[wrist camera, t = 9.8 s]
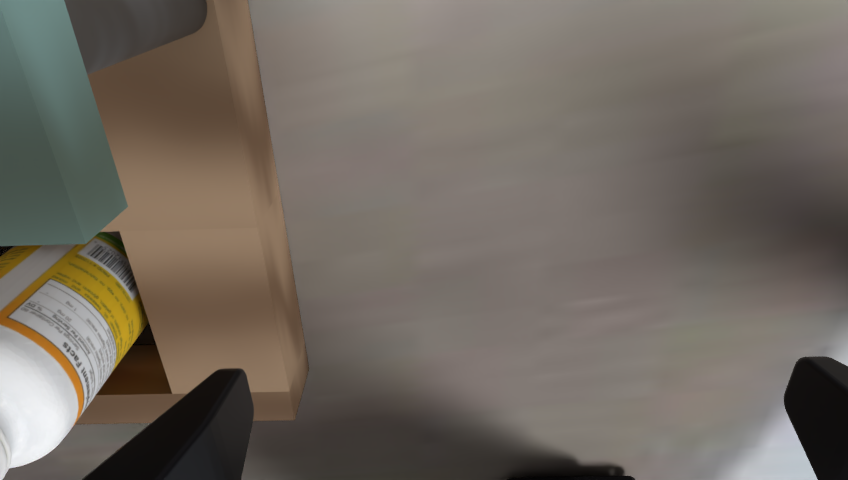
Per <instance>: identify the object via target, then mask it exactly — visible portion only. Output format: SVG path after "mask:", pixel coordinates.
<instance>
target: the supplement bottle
mask: <svg viewBox="0 0 848 480" xmlns="http://www.w3.org/2000/svg"><path fill="white" fill-rule="evenodd" d="M148 323H149V321H148V317H147V314H146V311H145V308H144V305H143V302H142V299H141V296H140V293H139V290H138V287H137V284H136V281H135V278H134V274H133V271H132V268H131V265H130V262H129V259H128V256H127V253H126V250H125V247H124V244H123V241H122V238H121V235H120V231H113V232H99V233H98V234H97V235H95V236H94V237H93V238H92V239H91V240H90V241H89V242H88V243H86V244H64V245H24V246H13V247H12V248H11V249H10V250H8V251H7V252H6V253H4V254H3V255H2V256H0V480H2V479H3V478H4V477H5V474H6V472H7V471H8V469H9V468H14V467H19V466H22V465H26V464H28V463H31V462H33V461H36V460H38V459H40V458H42V457H43V456H45V455H47V454H48V453H49V452H51V451H52V450H53V449H54V448H55V447H57V446H58V444H59V443H60V442H61V441H62V440H63V439H64V437H65V436H66V435H67V434H68V432H69V431H70V430H71V429H72V427H73V426H74V424H75V423H76V422H77V420H78V419H79V418H80V416H81V415H82V413H83V412H84V411H85V409H86V408H87V407H88V405H89V404H90V402H91V401H92V400H93V398H94V397H95V395H96V394H97V393H98V391H99V390H100V388H101V387H102V386H103V384H104V383H105V381H106V380H107V379H108V377H109V376H110V375H111V373H112V372H113V370H114V369H115V368H116V366H117V365H118V363H119V362H120V361H121V359H122V358H123V357H124V355H125V354H126V353H127V351H128V350H129V349H130V347H131V346H132V345H133V343H134V342H135V340H136V339H137V338H138V336H139V335H140V334H141V332H142V331H143V329H144V328H145V327H146V325H147V324H148Z"/></svg>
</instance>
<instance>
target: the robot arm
mask: <svg viewBox="0 0 848 480" xmlns="http://www.w3.org/2000/svg"><path fill="white" fill-rule="evenodd" d="M784 405H785V409H786V412H787V414H788V416H789V418H790V420H791V423H792V425H793V427H794V429H795V431H796V433H797V435H798V438H799V440H800V442H801V444H802V446H803V448H804V451H805V453H806V455H807V457H808V459H809V461H810V464H811V466H812V468H813V470H814V472H815V474H816V477H817V479H818V480H848V366H846V365H844V364H842V363H840V362H838V361H836V360H834V359H832V358H829V357H803V358H800V359H799V360H798V361H797V362H796V364H795V366H794V369H793V372H792V375H791V377H790V380H789V383H788V385H787V388H786V391H785V394H784ZM253 418H254V405H253V400H252V396H251V392H250V388H249V384H248V379H247V375H246V373H245V371H244V370H243V369H241V368H222V369H218V370H216V371H215V372H213V373H212V374H211V375H210V376H208V377H207V378H206V379H205V380H204V381H202V382H201V383H200V384H199V385H197V386H196V387H195V388H194V389H192V390H191V391H190V392H189V393H188V394H186V395H185V396H184V397H183V398H181V399H180V400H179V401H178V402H176V403H175V404H174V405H173V406H171V407H170V408H169V409H168V410H167V411H165V412H164V413H163V414H162V415H160V416H159V417H158V418H157V419H155V420H154V421H153V422H152V423H151V424H149V425H148V426H147V427H146V428H144V429H143V430H142V431H141V432H139V433H138V434H137V435H136V436H135V437H133V438H132V439H131V440H130V441H128V442H127V443H126V444H125V445H123V446H122V447H121V448H120V449H118V450H117V451H116V452H115V453H114V454H112V455H111V456H110V457H109V458H107V459H106V460H105V461H104V462H102V463H101V464H100V465H99V466H98V467H96V468H95V469H94V470H93V471H91V472H90V473H89V474H88V475H86V476H85V477H84V478H83V479H82V480H241V476H242V471H243V466H244V462H245V457H246V452H247V447H248V442H249V438H250V433H251V428H252V423H253ZM507 480H635V478H633V477H631V476H594V477H532V478H510V479H507Z"/></svg>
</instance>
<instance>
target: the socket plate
mask: <svg viewBox="0 0 848 480" xmlns="http://www.w3.org/2000/svg"><path fill="white" fill-rule="evenodd" d="M113 231H120V235H121V238H122V241H123V244H124V247H125V250H126V253H127V256H128V259H129V262H130V265H131V268H132V271H133V274H134V278H135V281H136V284H137V287H138V290H139V293H140V296H141V299H142V302H143V305H144V308H145V311H146V314H147V317H148V321H149V324H150V327H151V330H152V333H153V336H154V339H155V342H156V345H132V346H131V347H130V349H129V350H128V351H127V353H126V354H125V355H124V357H123V358H122V359H121V361H120V362H119V363H118V365H117V366H116V368H115V369H114V370H113V372H112V373H111V375H110V376H109V377H108V379H107V380H106V381H105V383H104V384H103V386H102V387H101V388H100V390H99V391H98V393H97V394H96V395H95V397H94V398H93V400H92V401H91V402H90V404H89V405H88V407H87V408H86V409H85V411H84V412H83V413H82V415H81V416H80V418H79V419H78V420H77V422H76V423H75V424H117V423H152V422H153V421H154V420H155V419H157V418H158V417H159V416H160V415H162V414H163V413H164V412H165V411H167V410H168V409H169V408H170V407H171V406H173V405H174V404H175V403H176V402H178V401H179V400H180V399H181V398H183V397H184V396H185V395H186V394H188V393H189V392H190V391H191V390H192V389H194V388H195V387H196V386H197V385H199V384H200V383H201V382H202V381H204V380H205V379H206V378H207V377H208V376H210V375H211V374H212V373H213V372H215V371H216V370H218V369H222V368H241V369H243V370H244V371H245V373H246V375H247V379H248V384H249V388H250V392H251V396H252V400H253V405H254V418H253V421H278V420H295V418H296V414H297V411H298V407H299V403H300V400H301V396H302V393H303V389H304V385H305V382H306V378H307V375H308V371H309V365H308V359H307V353H306V347H305V341H304V335H303V329H302V323H301V317H300V311H299V305H298V299H297V293H296V287H295V281H294V275H293V269H292V263H291V257H290V251H289V245H288V239H287V233H286V227H285V221H284V215H283V209H282V203H281V197H280V191H279V185H278V179H277V173H276V167H275V161H274V155H273V149H272V143H271V137H270V131H269V125H268V119H267V113H266V107H265V101H264V95H263V89H262V83H261V77H260V71H259V65H258V59H257V53H256V47H255V41H254V35H253V29H252V23H251V17H250V11H249V5H248V0H0V246H24V245H64V244H86V243H88V242H89V241H90V240H91V239H92V238H93V237H94V236H95V235H97V234H98V233H99V232H113Z"/></svg>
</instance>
